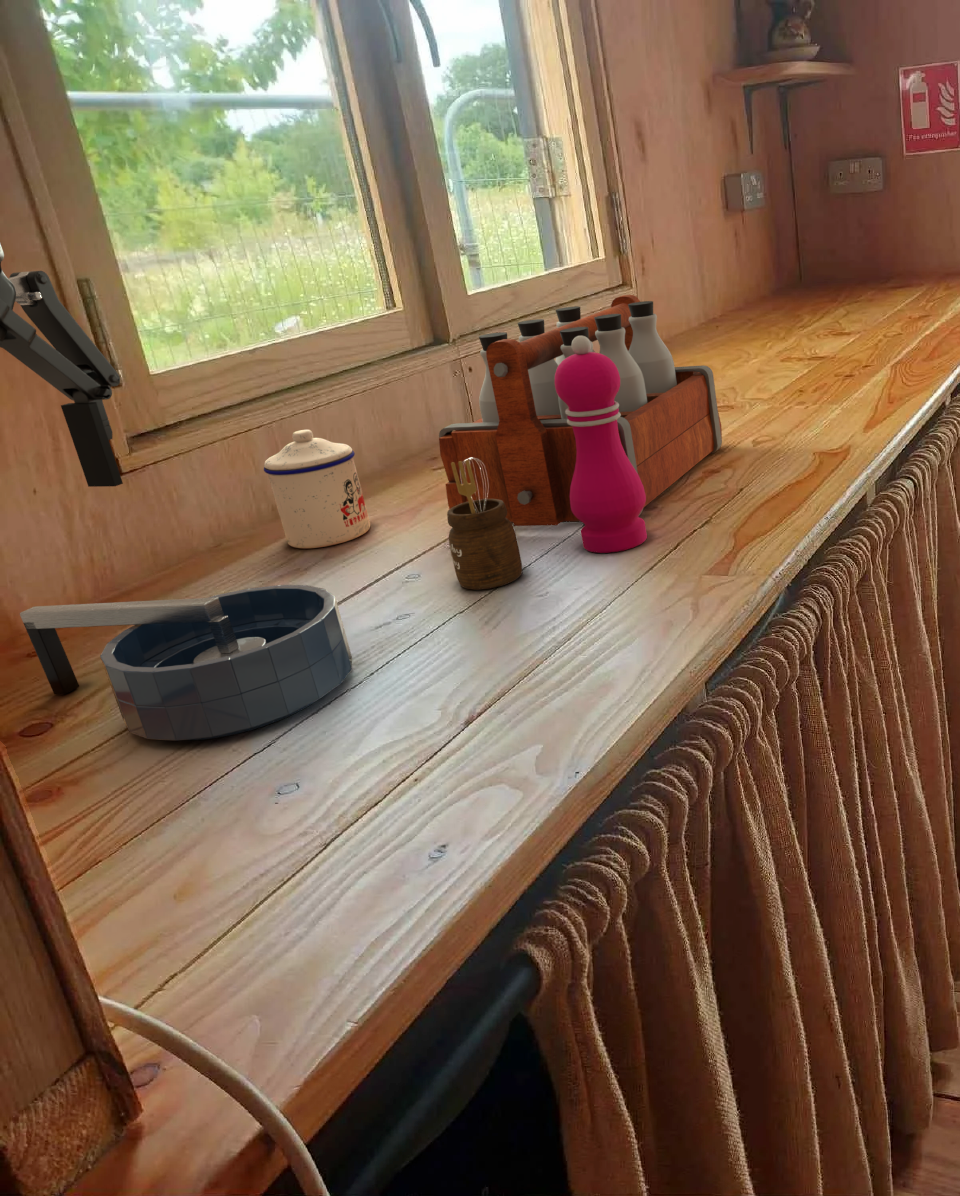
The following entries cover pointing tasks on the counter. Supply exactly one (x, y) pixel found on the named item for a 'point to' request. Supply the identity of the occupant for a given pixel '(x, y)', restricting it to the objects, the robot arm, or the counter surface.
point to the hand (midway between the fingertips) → (30, 513)
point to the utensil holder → (481, 538)
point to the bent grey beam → (48, 618)
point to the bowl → (230, 666)
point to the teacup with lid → (317, 492)
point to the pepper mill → (599, 453)
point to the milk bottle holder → (539, 423)
